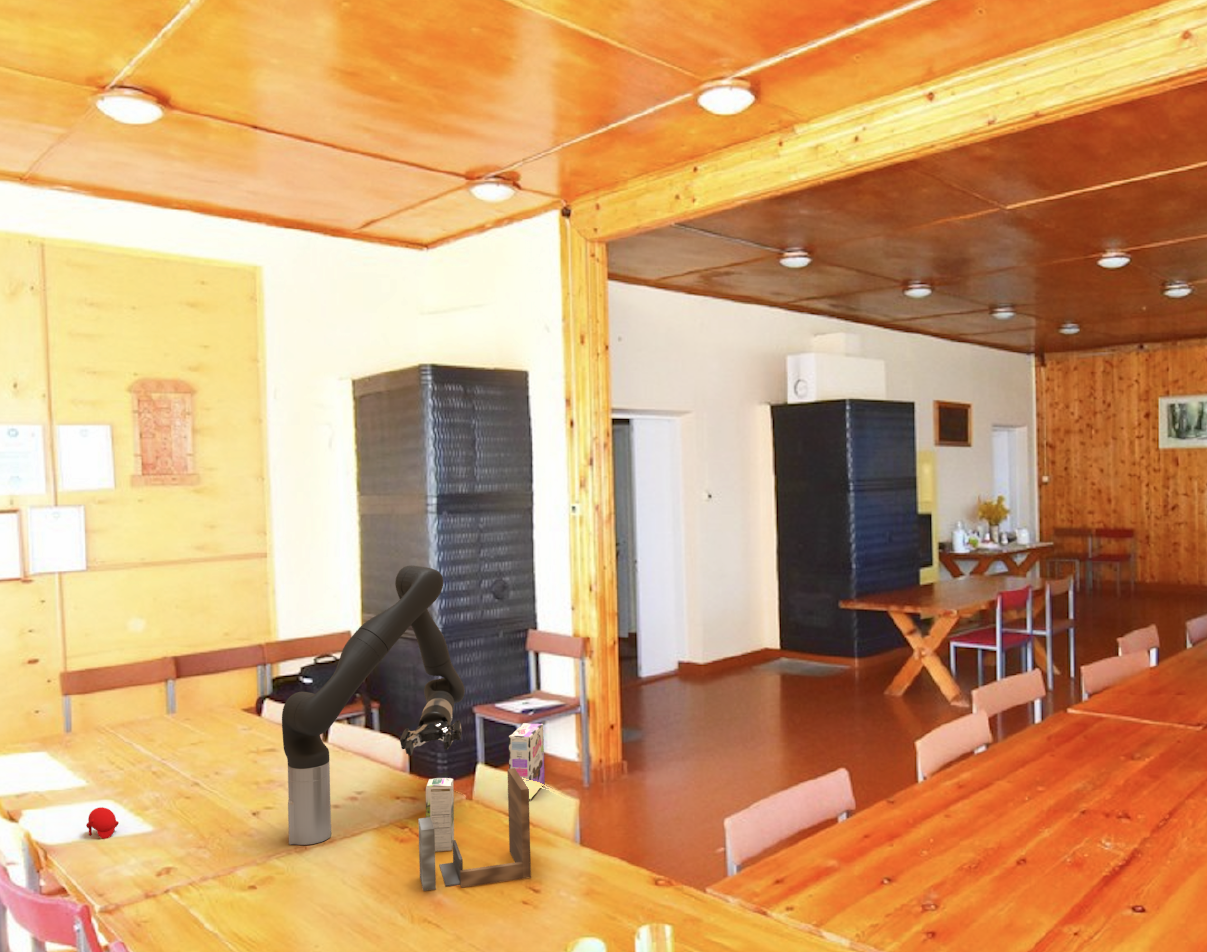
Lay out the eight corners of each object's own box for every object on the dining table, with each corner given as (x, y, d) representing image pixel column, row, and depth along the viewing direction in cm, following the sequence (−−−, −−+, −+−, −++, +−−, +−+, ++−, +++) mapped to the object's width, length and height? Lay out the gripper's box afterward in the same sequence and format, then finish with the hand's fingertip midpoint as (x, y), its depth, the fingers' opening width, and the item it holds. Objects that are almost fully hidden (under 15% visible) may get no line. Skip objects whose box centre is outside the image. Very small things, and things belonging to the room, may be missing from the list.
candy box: (531, 801, 238) (529, 736, 238) (509, 800, 239) (507, 735, 239) (545, 784, 251) (544, 722, 251) (524, 783, 252) (522, 722, 253)
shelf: (423, 893, 185) (421, 801, 185) (416, 864, 200) (414, 779, 200) (530, 877, 191) (528, 788, 191) (516, 850, 206) (514, 768, 206)
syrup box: (428, 842, 212) (427, 778, 212) (455, 841, 212) (453, 777, 212) (426, 852, 206) (424, 786, 206) (453, 851, 206) (451, 785, 206)
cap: (79, 820, 223) (81, 813, 219) (104, 805, 227) (107, 798, 223) (96, 848, 221) (99, 842, 217) (121, 833, 226) (124, 826, 221)
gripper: (405, 709, 234) (394, 739, 218) (461, 700, 234) (454, 729, 218) (410, 736, 235) (400, 768, 219) (467, 727, 235) (460, 758, 219)
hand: (427, 749), depth 219 cm, fingers open, 8 cm apart
